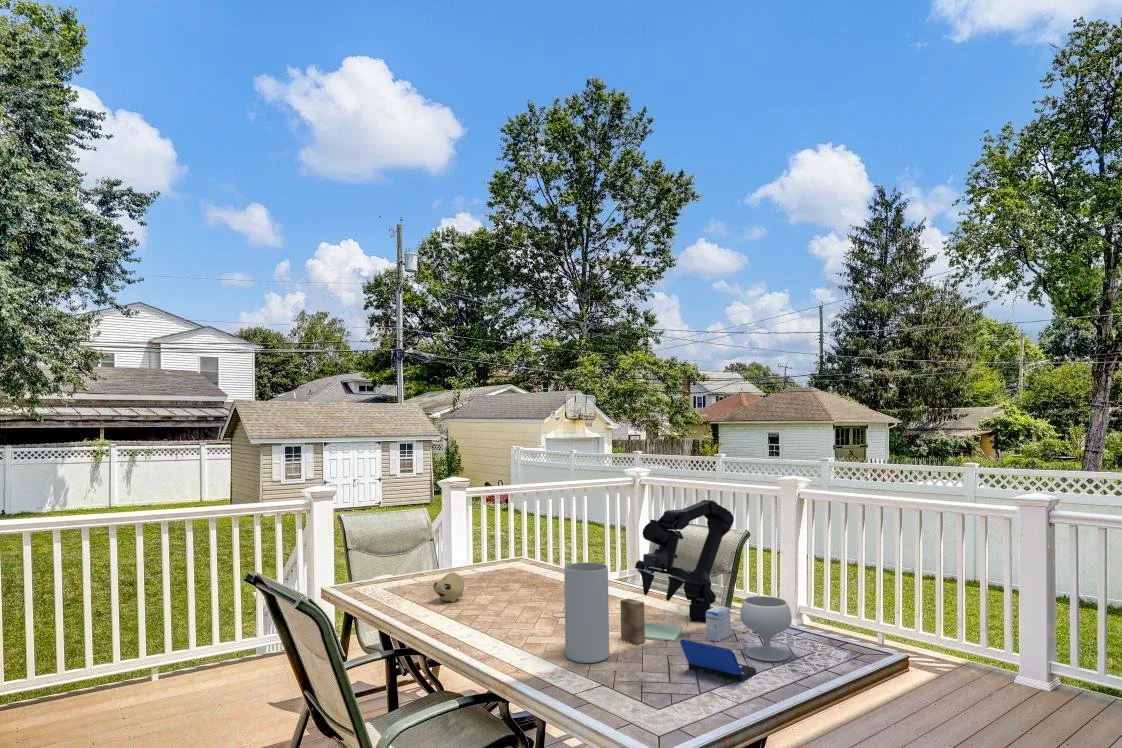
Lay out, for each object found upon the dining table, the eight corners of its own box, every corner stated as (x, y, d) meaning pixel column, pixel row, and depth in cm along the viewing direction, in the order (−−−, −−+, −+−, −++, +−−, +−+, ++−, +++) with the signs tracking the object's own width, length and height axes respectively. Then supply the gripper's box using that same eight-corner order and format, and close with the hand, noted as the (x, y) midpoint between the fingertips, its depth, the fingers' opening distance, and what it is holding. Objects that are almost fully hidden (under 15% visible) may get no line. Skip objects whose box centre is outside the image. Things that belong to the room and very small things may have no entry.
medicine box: (717, 633, 209) (716, 605, 210) (731, 636, 206) (730, 607, 207) (706, 639, 203) (705, 610, 204) (719, 642, 200) (718, 613, 201)
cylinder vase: (607, 665, 182) (605, 571, 184) (562, 663, 184) (560, 570, 186) (611, 650, 194) (609, 562, 196) (569, 648, 196) (568, 562, 199)
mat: (683, 628, 215) (683, 626, 215) (674, 641, 202) (674, 639, 202) (634, 624, 220) (634, 622, 220) (623, 636, 207) (623, 634, 207)
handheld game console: (758, 674, 175) (756, 637, 176) (734, 689, 165) (733, 650, 166) (704, 660, 185) (704, 626, 186) (679, 674, 175) (678, 638, 176)
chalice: (741, 661, 184) (739, 605, 185) (741, 645, 197) (739, 593, 198) (795, 665, 180) (792, 608, 181) (791, 649, 193) (789, 596, 195)
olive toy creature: (428, 603, 250) (428, 574, 251) (448, 596, 260) (449, 569, 261) (448, 607, 245) (448, 577, 246) (469, 599, 255) (469, 571, 256)
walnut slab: (644, 643, 201) (644, 602, 202) (637, 645, 198) (636, 604, 199) (629, 638, 206) (628, 598, 207) (621, 640, 203) (620, 600, 204)
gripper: (630, 538, 219) (618, 586, 213) (675, 545, 205) (663, 597, 200) (651, 547, 225) (640, 594, 220) (696, 555, 211) (685, 605, 206)
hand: (656, 597), depth 211 cm, fingers open, 9 cm apart
